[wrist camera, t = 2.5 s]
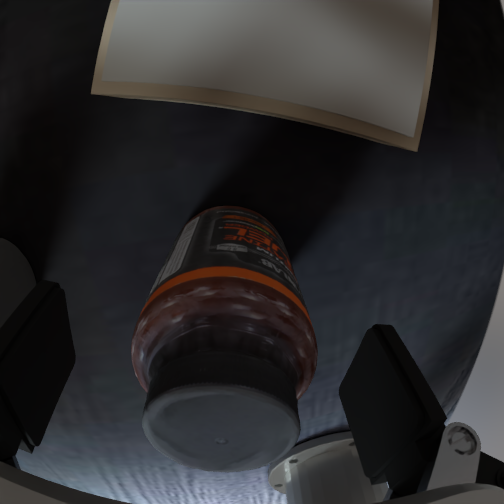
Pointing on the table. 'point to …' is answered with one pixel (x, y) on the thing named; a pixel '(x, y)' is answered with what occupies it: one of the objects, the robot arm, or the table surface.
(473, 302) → the table surface
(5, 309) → the bottle
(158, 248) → the table surface
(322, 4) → the grey square box
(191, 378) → the supplement bottle
